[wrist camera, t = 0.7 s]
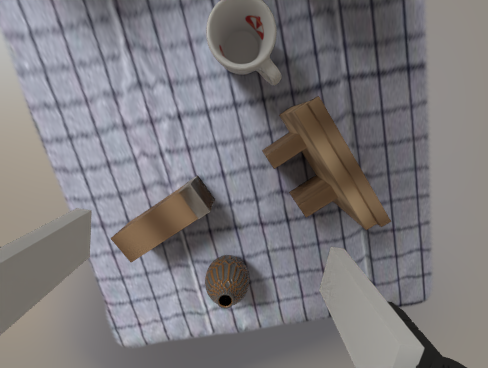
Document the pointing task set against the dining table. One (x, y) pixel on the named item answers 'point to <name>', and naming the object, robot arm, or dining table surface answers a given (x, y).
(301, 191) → the headboard
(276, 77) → the cup
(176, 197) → the brown wooden block
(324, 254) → the dining table surface
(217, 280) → the vase
